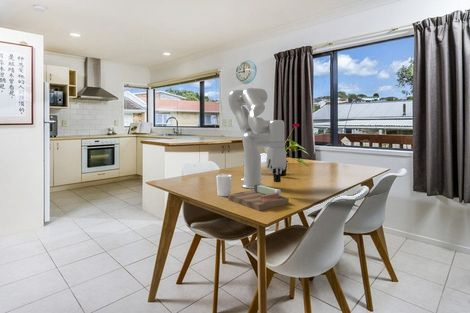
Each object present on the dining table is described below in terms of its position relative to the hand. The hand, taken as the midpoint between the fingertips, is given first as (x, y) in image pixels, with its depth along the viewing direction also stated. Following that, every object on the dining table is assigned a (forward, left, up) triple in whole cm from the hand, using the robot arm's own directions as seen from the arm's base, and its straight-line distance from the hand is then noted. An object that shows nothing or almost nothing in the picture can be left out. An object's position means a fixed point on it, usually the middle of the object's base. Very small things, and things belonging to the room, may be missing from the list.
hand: (277, 181), depth 143 cm
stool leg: (+2, -9, -4) cm, 10 cm away
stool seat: (+2, -15, -7) cm, 17 cm away
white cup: (-18, -20, -7) cm, 28 cm away
